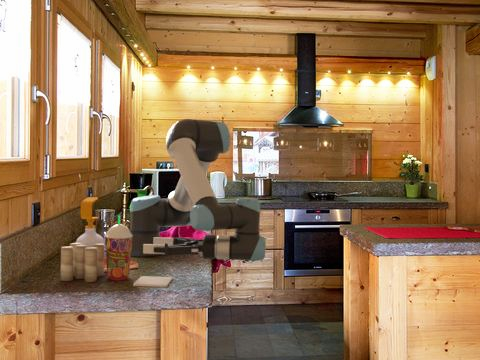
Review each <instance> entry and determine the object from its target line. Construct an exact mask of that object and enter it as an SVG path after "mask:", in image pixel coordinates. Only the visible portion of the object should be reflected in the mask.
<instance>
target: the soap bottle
mask: <svg viewBox="0 0 480 360" xmlns="http://www.w3.org/2000/svg"><path fill="white" fill-rule="evenodd" d="M97 200H99V197H96V196H95V197H94V196H91V197H90V196H88V197H86V198H84V199H83V200H82V201H81V202H80V218H81V219H82V220H86V222H87V225H85V229H84V230H85V232H84V233H83V234H81V235H80V236H79V237H78V238H77V239H76V241H75V243H82V245H87V248H88V247H93V244H105V240H104V237H102V236H101V235H100V234H99V233H97V232H96V230H97V229H96V225H94V223H95V221H96V220H97V219H100V217H99V216H93V205H94V203H95V202H97Z"/></svg>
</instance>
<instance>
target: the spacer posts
mask: <svg viewBox="0 0 480 360" xmlns="http://www.w3.org/2000/svg"><path fill="white" fill-rule="evenodd" d="M105 254H106V243H104V244H93V247H88V248H87V245H82V243H76V242H72V243H69V246H61V247H60V281H61V282H62V281H63V282H70V281H73V280H74V279H84V282H88V283H92V282H97V281H98V280H97V278H98V277H103V276H105Z"/></svg>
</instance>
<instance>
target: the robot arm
mask: <svg viewBox="0 0 480 360" xmlns="http://www.w3.org/2000/svg"><path fill="white" fill-rule="evenodd" d="M230 133H231V132H230V129H229V127H228V125H227V124H226V123H225V122H223V121H218V120H203V119H191V118H184V119H181V120H178V121H177V122H175V123H174V124H173V125H172V126H171V127H170V128H169V130H168V132H167V135H166V138H165V145H166V150H167V152H168V155H169V157H170V158H172V160H173V159H174V162H175V164H176V167H177V169H178V172H179V174H180V178H179V180H178V182H177V184H176V186H175V190H173V191H171V192H170V193H169V194H168V197H167V198H161V196H160V195H157V194H156V195H146V196H142V197H138V196H137V197H134V198H133V199H132V200H131V202H130V204H131V209H130V208H129V212H130V211H131V213H130V224H129V225H130V227H129V230H130V232H131V235H132V246H131V256H132V257H142V258H143V257H156V256H160V255H165V256H166V257H169V256H171V257H172V256H185V255H187V256H188V255H196V256H197V255H199V253H202V258H203V259H204V260H214V259H217V260H223V262H227V260H230V261H249V262H252V261H263V260H264V259H265V258H266V245H267V244H266V240H267V239H266V237H265V236H262V235H261V234H260V220H261V219H260V218H261V202H260V200H259V199H258V198H255V197H237V198H236V200H235V203H233V204H232V203H231V204H220V203H219V201H218V199H217V197H216V194H215V192H214V190H213V188H212V185H211V183H210V181H209V179H208V177H207V172H208V169H209V168H210V165H211V164H212V163H215V162H216V161H217V160H218V157H219V155H220V154H223V155H224V154H226V153H227V152H228V151H229V150H230V148H231V134H230ZM186 226H191V227H192V228H193V229H194V230H195V231H206V232H208V231H221V230H234V233H235V235H229V234H227V235H226V234H217V236H216V234H205V235H203V238H202V239H200V238H199V239H198V238H189V237H181V236H177V237H161V235H160V228H164V227H165V228H166V227H167V228H168V227H169V228H171V227H172V228H174V227H175V228H176V227H180V228H181V227H186Z"/></svg>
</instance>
